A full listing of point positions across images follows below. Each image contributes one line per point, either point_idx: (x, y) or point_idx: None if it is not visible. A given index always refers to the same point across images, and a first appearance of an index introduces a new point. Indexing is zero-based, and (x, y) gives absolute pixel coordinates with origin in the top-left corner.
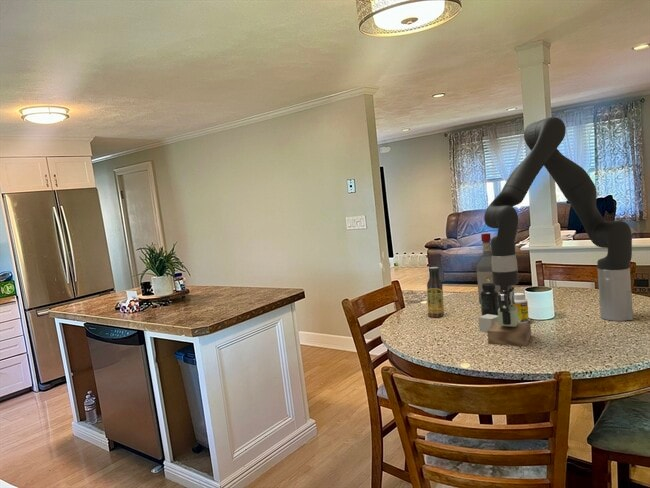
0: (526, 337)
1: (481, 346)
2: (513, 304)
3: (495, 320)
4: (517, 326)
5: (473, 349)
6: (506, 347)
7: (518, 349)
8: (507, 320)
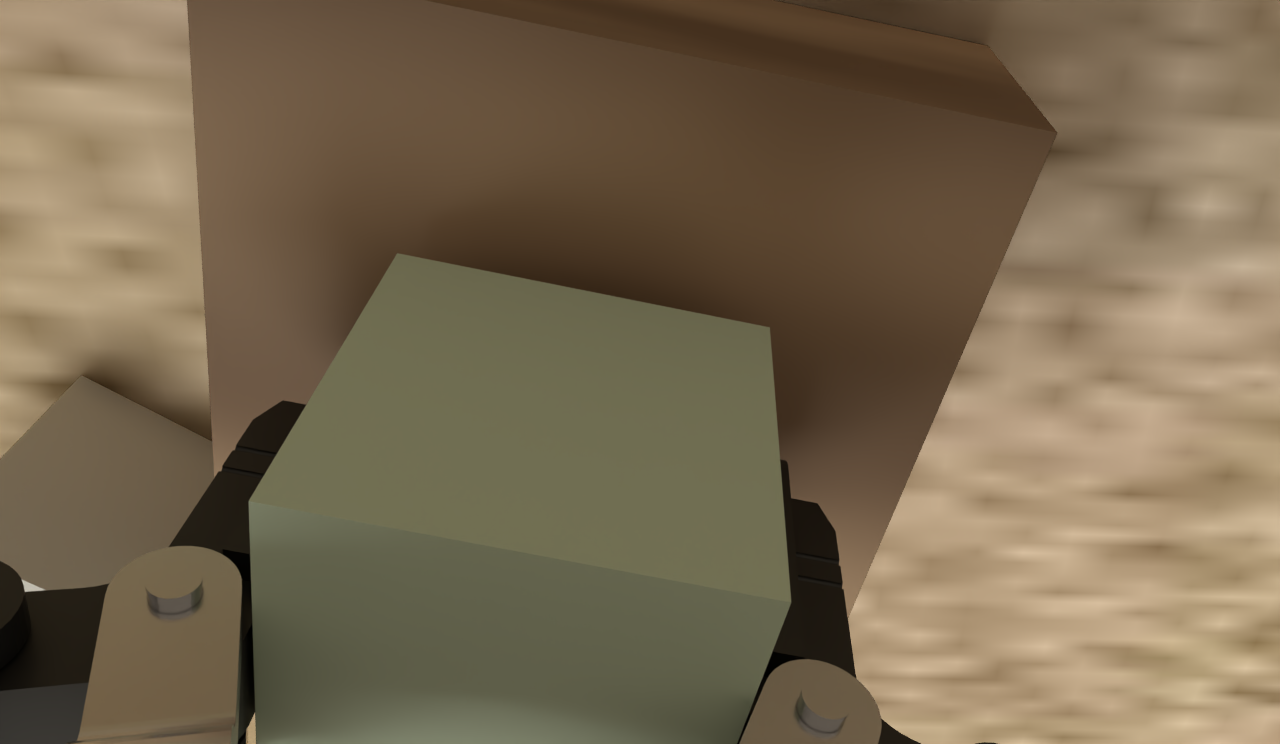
0: (910, 63)
1: (931, 615)
2: (112, 619)
3: (113, 566)
4: (524, 253)
5: (1044, 687)
6: (1026, 346)
7: (1168, 184)
8: (828, 569)
